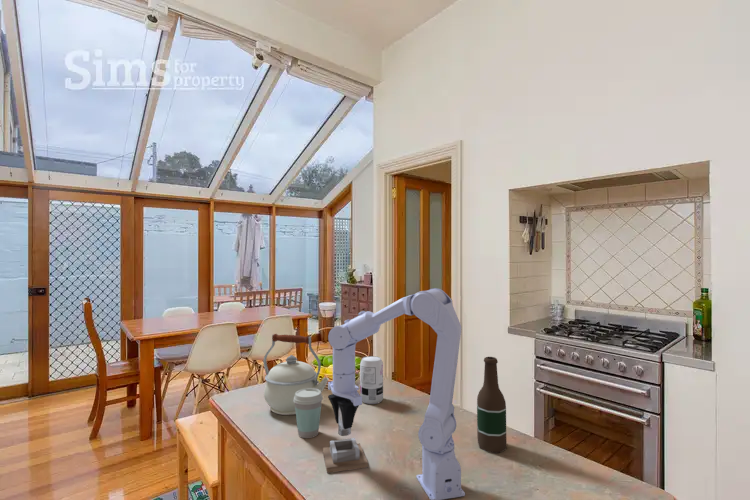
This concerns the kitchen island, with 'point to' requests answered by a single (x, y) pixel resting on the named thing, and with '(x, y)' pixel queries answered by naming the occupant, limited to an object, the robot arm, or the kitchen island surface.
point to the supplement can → (371, 380)
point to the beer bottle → (491, 411)
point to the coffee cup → (308, 411)
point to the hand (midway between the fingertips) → (344, 425)
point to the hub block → (344, 456)
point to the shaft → (340, 425)
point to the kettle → (289, 377)
